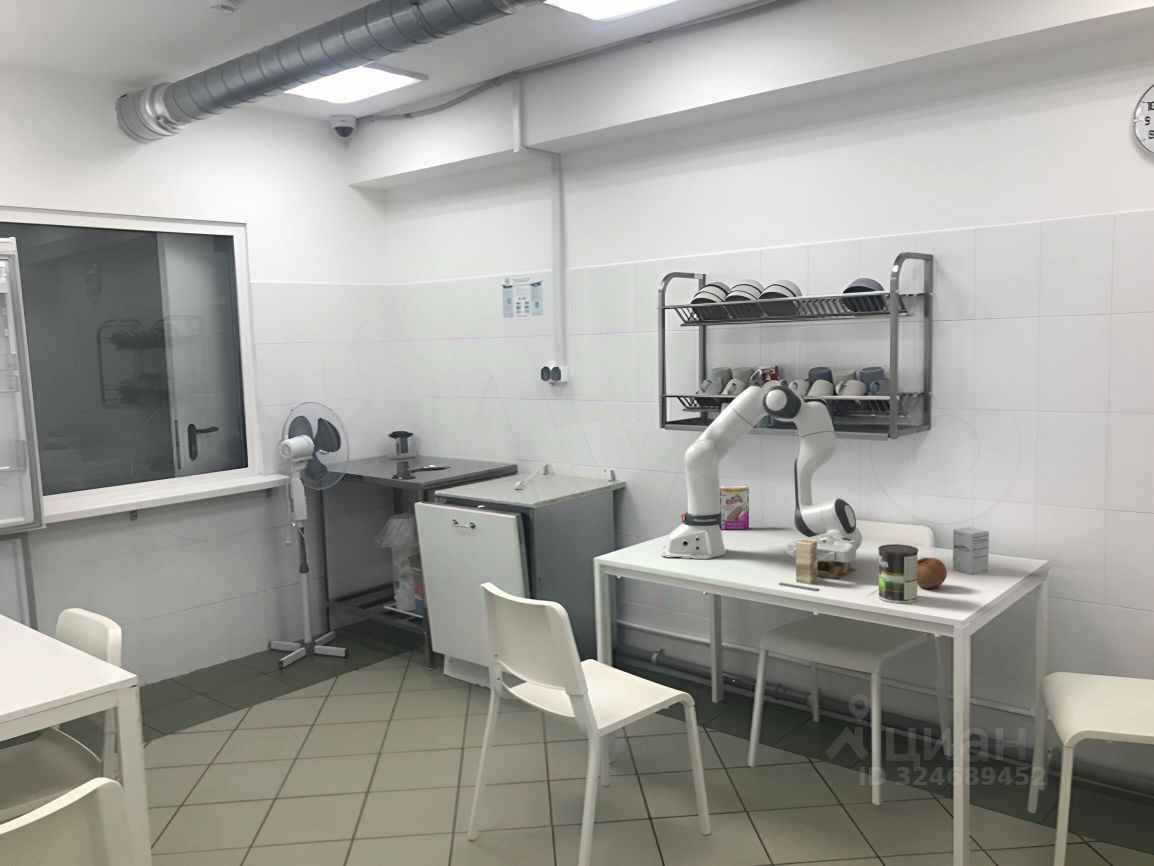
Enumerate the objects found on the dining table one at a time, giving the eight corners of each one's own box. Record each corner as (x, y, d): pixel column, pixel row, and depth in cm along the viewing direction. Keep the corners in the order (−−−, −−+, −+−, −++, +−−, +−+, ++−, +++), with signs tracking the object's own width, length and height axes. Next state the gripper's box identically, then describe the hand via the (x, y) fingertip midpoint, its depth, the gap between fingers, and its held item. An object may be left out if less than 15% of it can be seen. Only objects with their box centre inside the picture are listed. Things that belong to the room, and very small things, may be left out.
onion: (920, 600, 256) (908, 571, 254) (916, 583, 265) (904, 555, 262) (954, 590, 253) (942, 561, 251) (949, 573, 262) (936, 544, 259)
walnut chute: (836, 581, 268) (836, 571, 268) (800, 575, 276) (800, 565, 276) (858, 570, 279) (858, 561, 279) (823, 565, 287) (823, 556, 287)
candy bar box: (720, 530, 346) (719, 488, 344) (719, 527, 351) (718, 486, 349) (749, 530, 345) (749, 487, 343) (748, 527, 350) (747, 485, 348)
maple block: (810, 584, 264) (809, 544, 263) (796, 582, 267) (795, 542, 266) (817, 581, 267) (817, 541, 266) (803, 579, 270) (803, 539, 269)
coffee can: (885, 604, 244) (885, 553, 242) (873, 593, 254) (873, 544, 253) (923, 603, 244) (923, 552, 242) (910, 592, 254) (910, 543, 252)
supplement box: (952, 569, 277) (952, 529, 276) (970, 566, 280) (970, 526, 278) (971, 574, 270) (971, 533, 269) (989, 571, 273) (989, 530, 272)
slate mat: (816, 590, 259) (816, 589, 259) (779, 584, 267) (778, 583, 267) (835, 581, 268) (835, 580, 268) (798, 576, 276) (798, 574, 276)
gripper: (798, 533, 284) (776, 541, 274) (860, 541, 270) (839, 549, 260) (799, 553, 284) (776, 561, 274) (860, 561, 271) (839, 571, 260)
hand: (807, 556), depth 267 cm, fingers open, 8 cm apart
